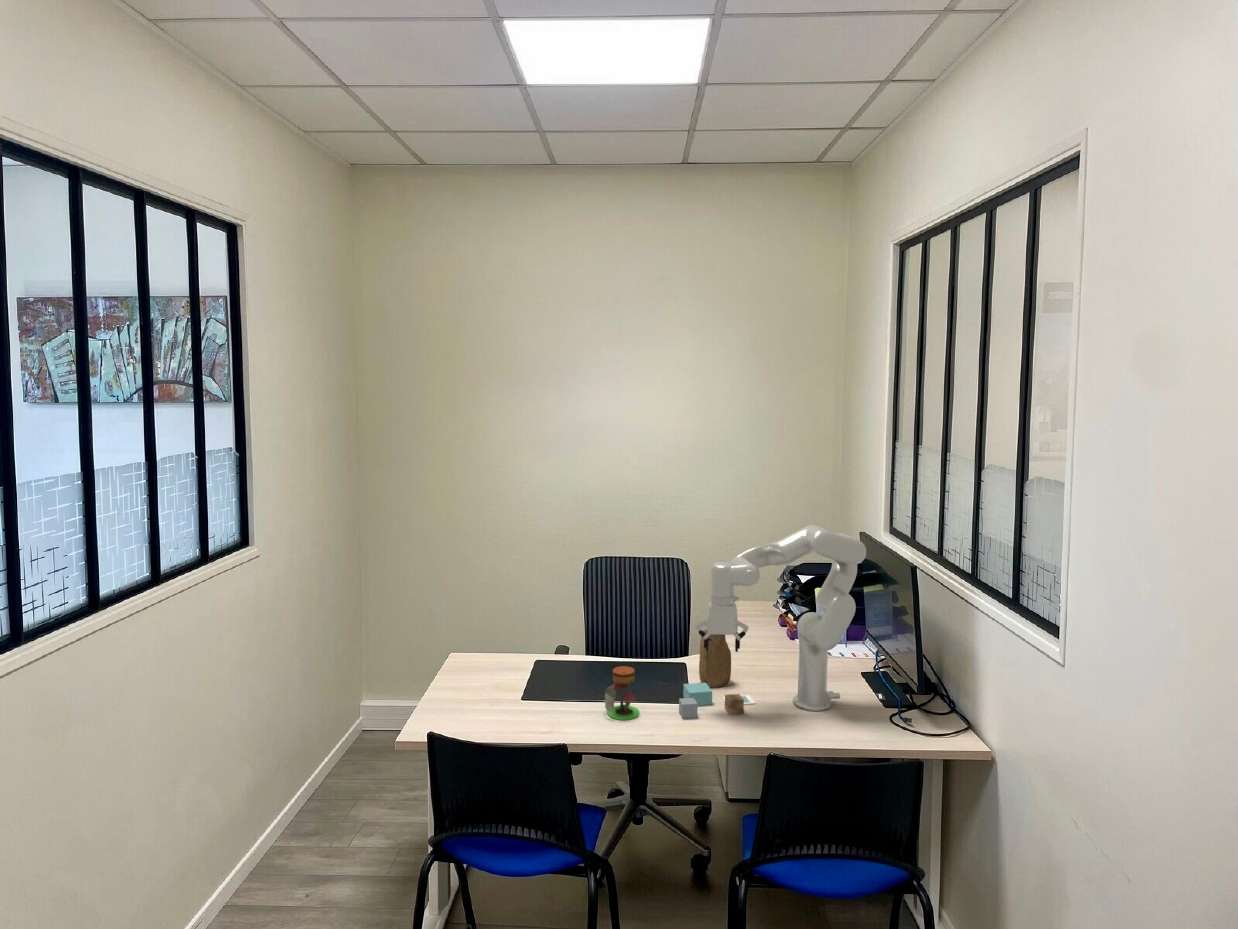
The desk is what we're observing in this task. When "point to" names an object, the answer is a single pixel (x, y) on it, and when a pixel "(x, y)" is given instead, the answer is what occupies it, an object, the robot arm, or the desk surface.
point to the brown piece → (715, 661)
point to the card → (745, 699)
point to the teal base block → (698, 693)
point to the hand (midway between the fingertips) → (721, 650)
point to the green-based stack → (621, 681)
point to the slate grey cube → (688, 708)
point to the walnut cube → (734, 704)
